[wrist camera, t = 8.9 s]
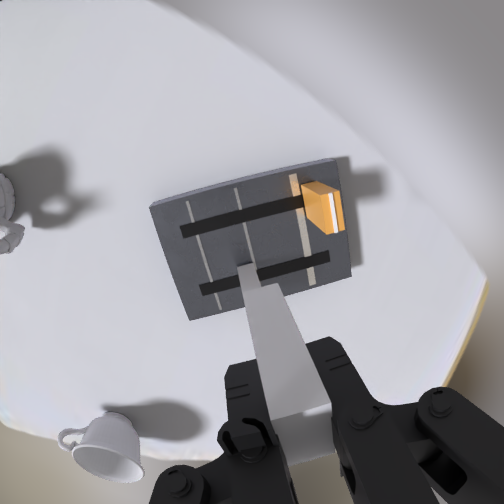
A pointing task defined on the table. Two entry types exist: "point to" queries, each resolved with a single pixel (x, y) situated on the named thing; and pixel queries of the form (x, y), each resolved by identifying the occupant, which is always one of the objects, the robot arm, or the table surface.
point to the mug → (3, 208)
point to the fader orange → (323, 206)
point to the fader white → (248, 277)
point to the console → (249, 237)
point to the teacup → (107, 448)
